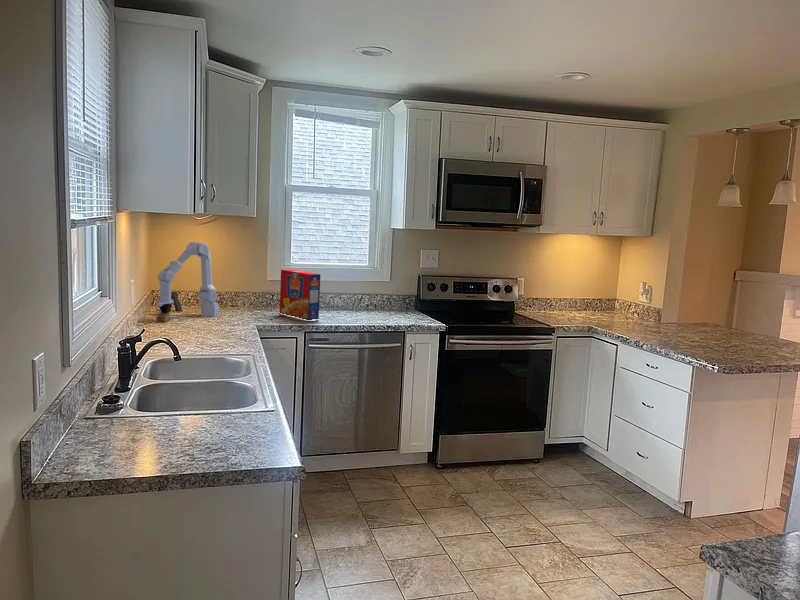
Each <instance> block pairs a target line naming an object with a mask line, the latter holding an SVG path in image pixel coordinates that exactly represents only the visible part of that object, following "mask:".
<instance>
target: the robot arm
mask: <svg viewBox="0 0 800 600" xmlns="http://www.w3.org/2000/svg"><path fill="white" fill-rule="evenodd" d="M209 249H210V248H209V245H208V244H206V242H198V241H197V242H196V241H191V242H189V243H188V245H186V248H185V250H184V251H182V253H181V254H180V255H179V257H177V259H176V260H171V261H170V262H169V264H168V265H167V266H166V267H164V269H163V270H161V271H159V273H158V274H157V279H158V282H159V300H157V302H156V307H158V309H159V308H160V310H161V312H162V313H169V314H170V312H171V311H170V309H171V310H172V307H173V304H174V300H171V292H172V281H174V280H175V276H176V274H177V273H178V272H179V271H180V270H181V269H182V265H184V264H183V263H185V262H186V261H187V260H188V259H189V258H190V257H191V256H197V257H199V258H200V268H201V269H200V270H201V286H200V287H199V293H198V297H199V299H200V302H201V305H200V306H201V307H200V315H201V316H202V317H210V318H213V317H214V318H216V317H219V315H220V305H219V303H218V302H216V301H217V299H218V293H217V288H216V287H215V286H214V285H213V277H212V276H213V273H212V254H211V252H210V250H209ZM171 303H172V305H169V304H171Z"/></svg>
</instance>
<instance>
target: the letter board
mask: <svg viewBox="0 0 800 600" xmlns="http://www.w3.org/2000/svg"><path fill="white" fill-rule="evenodd" d="M192 318H193V317H192V316H191V317H190V316H181V315H170V321H181V322H182V321H183V322H184V321H187V320H191V319H192Z"/></svg>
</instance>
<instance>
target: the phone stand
mask: <svg viewBox="0 0 800 600" xmlns="http://www.w3.org/2000/svg"><path fill="white" fill-rule="evenodd" d="M178 295H179V294H178V291H171V300H174V303H171V304H169V305H172V306H174V309H175V310H173V309H172V308H171V309H170V311H169V312H178V313H182V312H183V308H182V305H181V302H180V299H179V297H178ZM181 311H182V312H181Z"/></svg>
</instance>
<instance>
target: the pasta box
mask: <svg viewBox="0 0 800 600" xmlns="http://www.w3.org/2000/svg"><path fill="white" fill-rule="evenodd" d="M279 287H280V288H279V291H280V292H279V295H280V296H279V314H280V313H282V314H286V315H291V316H295V317H299V318H302V319H306V320H312V319H319V318H320V299H321V298H320V295H321V294H320V293H321V290H320V289H321V274H320V273H317V272H316V273H315V272H311V271H310V272H309V271H302V270H297V269H280V286H279Z"/></svg>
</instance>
